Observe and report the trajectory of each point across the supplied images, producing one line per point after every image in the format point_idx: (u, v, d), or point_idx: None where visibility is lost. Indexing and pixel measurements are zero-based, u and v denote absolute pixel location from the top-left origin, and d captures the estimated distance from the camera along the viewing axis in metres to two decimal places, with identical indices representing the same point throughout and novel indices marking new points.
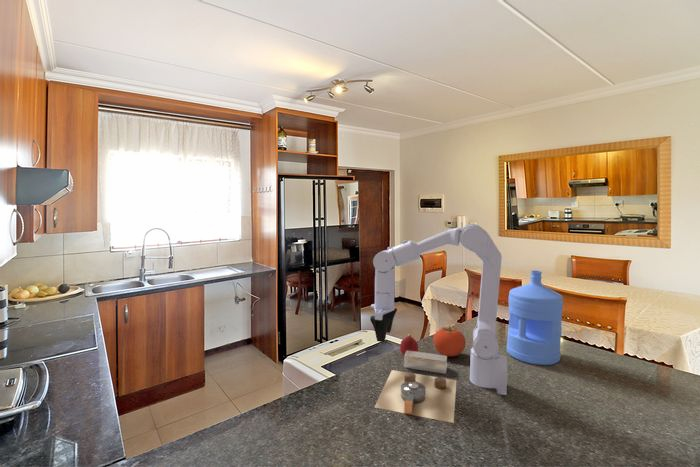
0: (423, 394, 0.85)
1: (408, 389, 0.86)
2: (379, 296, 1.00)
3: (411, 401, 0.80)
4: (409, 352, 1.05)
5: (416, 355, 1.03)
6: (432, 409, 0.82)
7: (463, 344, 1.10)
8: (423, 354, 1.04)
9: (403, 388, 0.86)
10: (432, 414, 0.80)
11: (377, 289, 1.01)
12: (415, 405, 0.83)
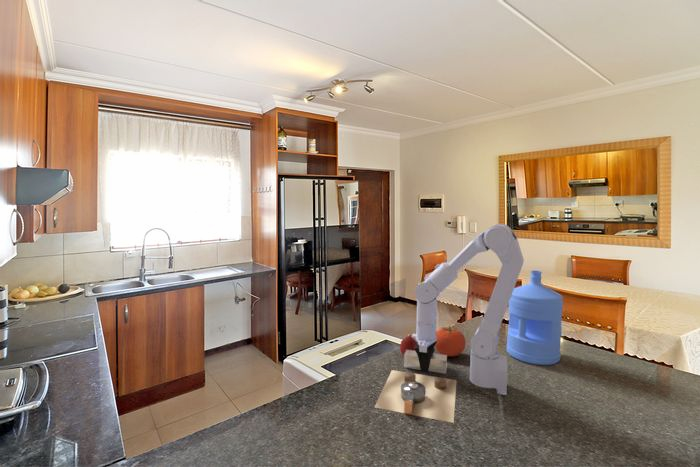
0: (423, 394, 0.85)
1: (408, 389, 0.86)
2: (422, 327, 1.00)
3: (411, 401, 0.80)
4: (409, 351, 1.05)
5: (416, 354, 1.03)
6: (432, 409, 0.82)
7: (463, 344, 1.10)
8: None
9: (403, 388, 0.86)
10: (432, 414, 0.80)
11: (418, 319, 1.01)
12: (415, 405, 0.83)
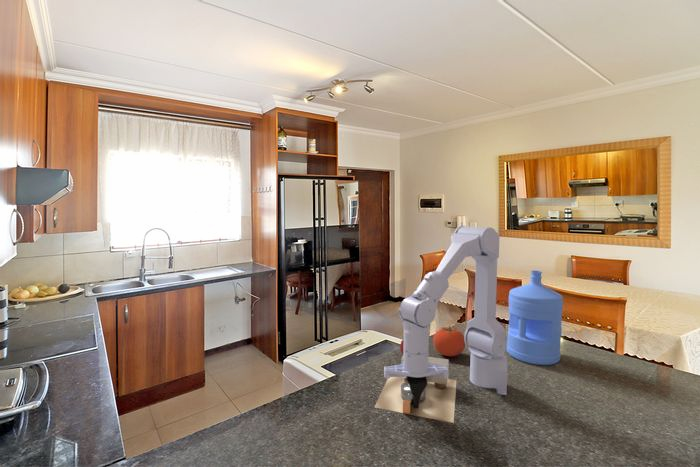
0: (423, 394, 0.85)
1: (408, 389, 0.86)
2: (403, 352, 0.81)
3: (409, 401, 0.80)
4: None
5: None
6: (432, 409, 0.82)
7: (463, 344, 1.10)
8: None
9: (403, 388, 0.86)
10: (432, 414, 0.80)
11: (418, 350, 0.78)
12: None
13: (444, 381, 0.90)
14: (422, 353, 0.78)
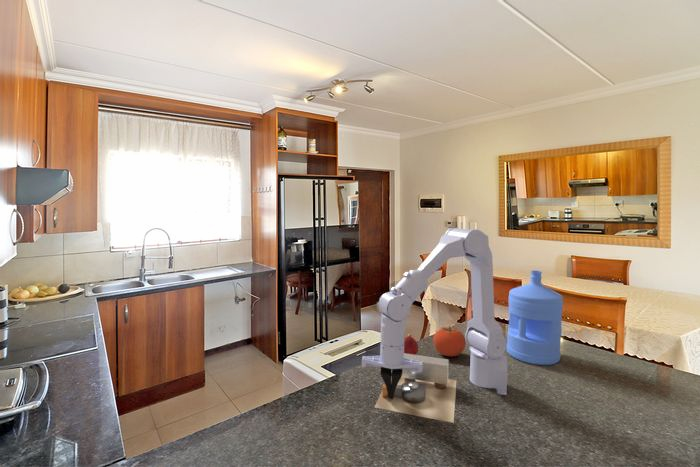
0: (408, 395, 0.84)
1: (407, 385, 0.88)
2: None
3: None
4: (407, 355, 0.95)
5: (415, 358, 0.93)
6: (432, 409, 0.82)
7: (463, 344, 1.10)
8: (422, 358, 0.94)
9: (407, 382, 0.89)
10: (432, 414, 0.80)
11: (391, 342, 0.82)
12: (415, 405, 0.83)
13: (444, 381, 0.90)
14: (395, 346, 0.82)
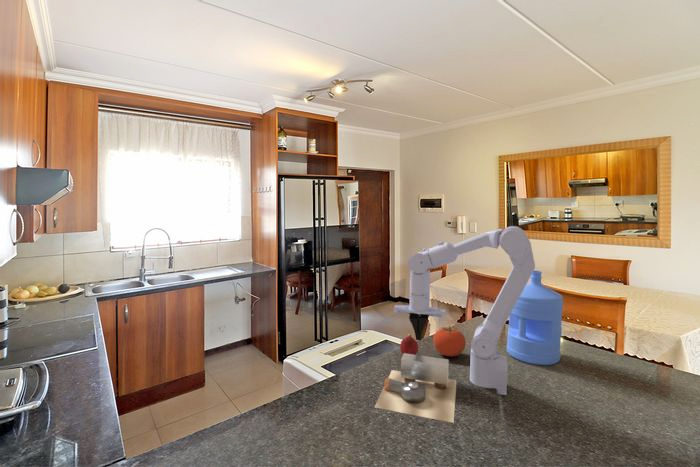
0: (403, 393, 0.85)
1: None
2: None
3: (388, 380, 0.90)
4: (407, 355, 0.95)
5: (415, 358, 0.93)
6: (432, 409, 0.82)
7: (463, 344, 1.10)
8: (422, 358, 0.94)
9: (411, 382, 0.89)
10: (432, 414, 0.80)
11: (412, 291, 0.99)
12: (415, 405, 0.83)
13: (444, 381, 0.90)
14: (421, 295, 0.98)
